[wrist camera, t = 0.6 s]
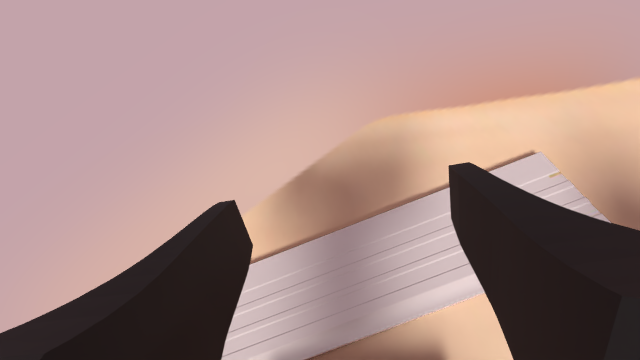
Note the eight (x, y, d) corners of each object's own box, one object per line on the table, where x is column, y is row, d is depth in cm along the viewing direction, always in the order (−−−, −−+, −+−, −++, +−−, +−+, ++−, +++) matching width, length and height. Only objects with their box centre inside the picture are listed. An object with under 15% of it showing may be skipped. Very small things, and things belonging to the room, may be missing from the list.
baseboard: (633, 264, 23) (535, 161, 29) (654, 247, 21) (544, 140, 27) (226, 415, 24) (216, 285, 30) (205, 414, 22) (199, 274, 28)
